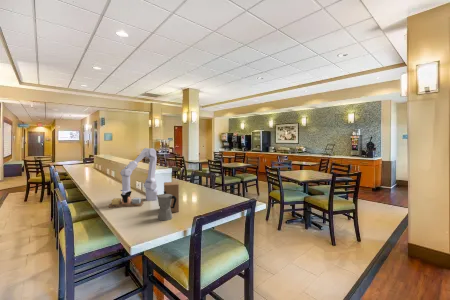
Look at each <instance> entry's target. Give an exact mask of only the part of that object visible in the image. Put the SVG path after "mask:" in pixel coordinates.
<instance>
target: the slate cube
mask: <svg viewBox="0 0 450 300" xmlns="http://www.w3.org/2000/svg"><path fill="white" fill-rule="evenodd" d="M131 201H132V204H140V203H141V201H142V200H141V197H133V198H132V200H131Z"/></svg>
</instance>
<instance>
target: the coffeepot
mask: <svg viewBox="0 0 450 300" xmlns="http://www.w3.org/2000/svg"><path fill="white" fill-rule="evenodd" d="M156 196H157V197H158V199H157V202H158V207H159V210H158V216H157V220H158V221H162V222H165V221H169V220H172V219H173V213H171V208H174V207H175V204H176V200H177V198H176V197H175V196H172V195H171V194H166V191H164V190H163V193H162V194H158V195H156ZM172 199H174V203H173V207H171V208H170V205H171V200H172Z"/></svg>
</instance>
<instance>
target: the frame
mask: <svg viewBox="0 0 450 300" xmlns="http://www.w3.org/2000/svg"><path fill="white" fill-rule="evenodd" d="M143 204H144V200H141V203H140V204H132V200H131V203H130V204H122V201H121V203H120V204H115V205H112V202H110V203H109V204H108V208H110V209H111V208H133V207H142V206H143Z"/></svg>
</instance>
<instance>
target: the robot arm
mask: <svg viewBox="0 0 450 300" xmlns="http://www.w3.org/2000/svg"><path fill="white" fill-rule="evenodd" d="M144 158H148V159H149V166H148V174H147V178H146V179H145V181H144V184H143V188H144V189H145V201H148V202H150V201H158V197H157V196H156V195H159V191H158V189H157V187H158V186H157V180H156V179H155V176H156V168H157V162H158V161H157V160H158V157H157V150H156V149H155V148H153V147H152V148H151V147H150V148H149V147H145V148H143V149H142V150H141V151H140V153H139V155H137V157H136V158H135V159H134V160H131V161H129V163H128V164H127V165H126V166H125V167H124V168H122V169H121V171H120V172H119V174H120V175H121V189H120V192H121V193H120V196H121V199H122V198H123V202H124V203H127V200H128V197H131V195H132V193H133V191H132V190H131V175H132V174H133V171H134V170H136V168H137V167H138V164H139V163H140V162H141V161H142V160H143V159H144Z"/></svg>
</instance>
